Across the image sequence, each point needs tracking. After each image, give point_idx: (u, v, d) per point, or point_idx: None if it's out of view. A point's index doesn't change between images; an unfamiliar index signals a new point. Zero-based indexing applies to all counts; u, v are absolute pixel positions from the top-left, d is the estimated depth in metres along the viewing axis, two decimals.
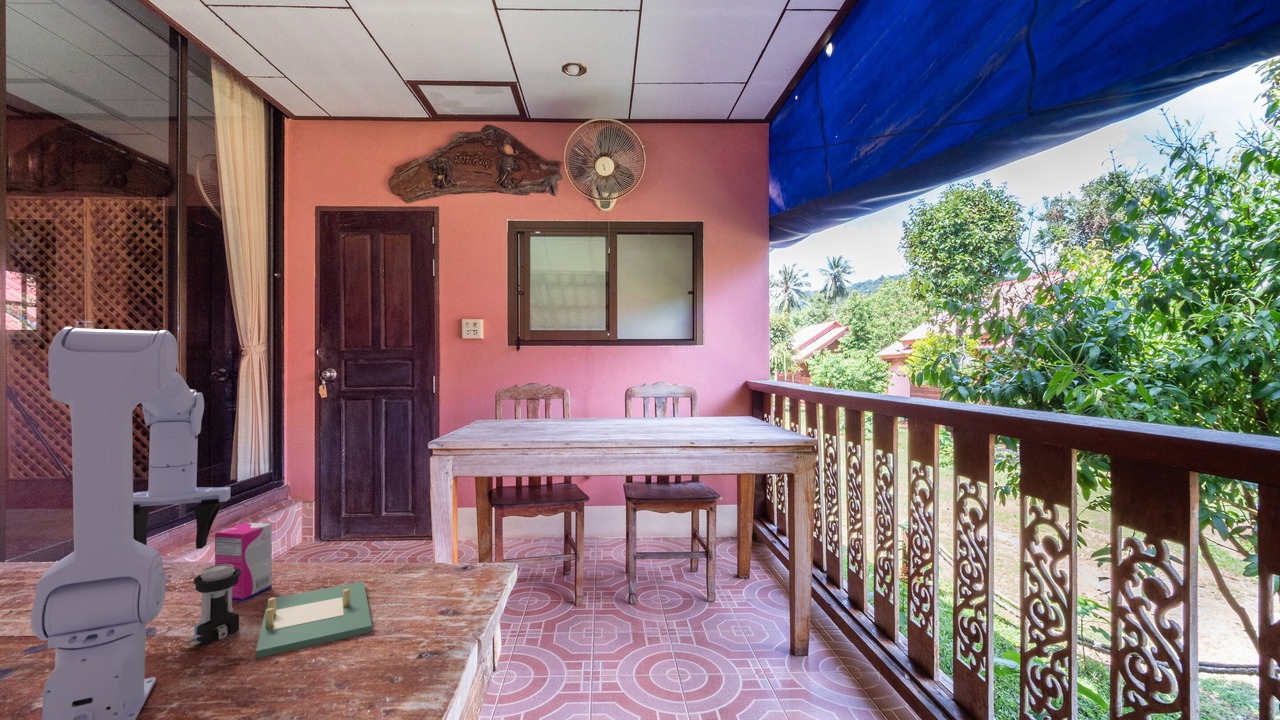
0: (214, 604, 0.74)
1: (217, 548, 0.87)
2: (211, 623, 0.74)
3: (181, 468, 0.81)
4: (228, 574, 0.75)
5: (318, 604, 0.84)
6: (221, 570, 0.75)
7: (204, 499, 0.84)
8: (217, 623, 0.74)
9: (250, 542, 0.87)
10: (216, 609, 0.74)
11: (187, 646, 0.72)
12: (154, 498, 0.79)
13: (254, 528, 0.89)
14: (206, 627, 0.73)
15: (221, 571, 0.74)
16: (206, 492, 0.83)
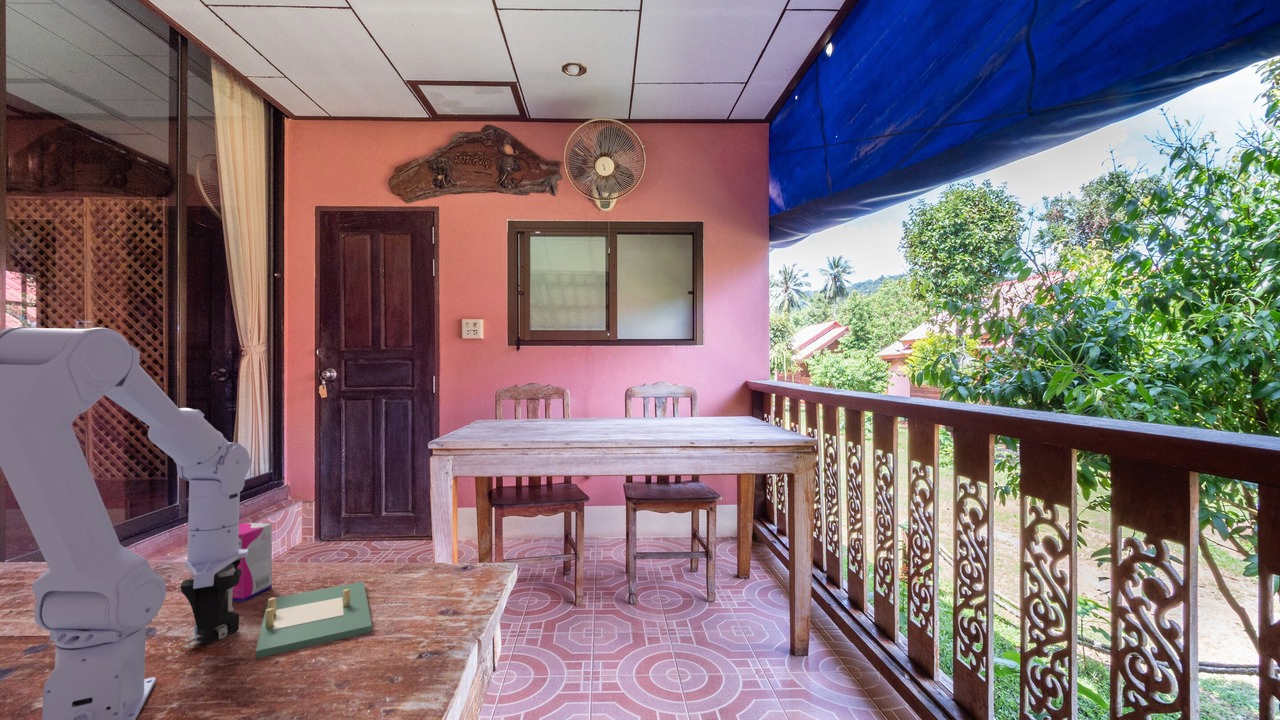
0: None
1: None
2: None
3: (191, 533, 0.72)
4: (229, 574, 0.75)
5: (318, 604, 0.84)
6: (222, 571, 0.74)
7: None
8: None
9: (250, 542, 0.87)
10: None
11: (187, 646, 0.72)
12: None
13: (254, 528, 0.89)
14: None
15: (222, 572, 0.74)
16: (192, 569, 0.70)
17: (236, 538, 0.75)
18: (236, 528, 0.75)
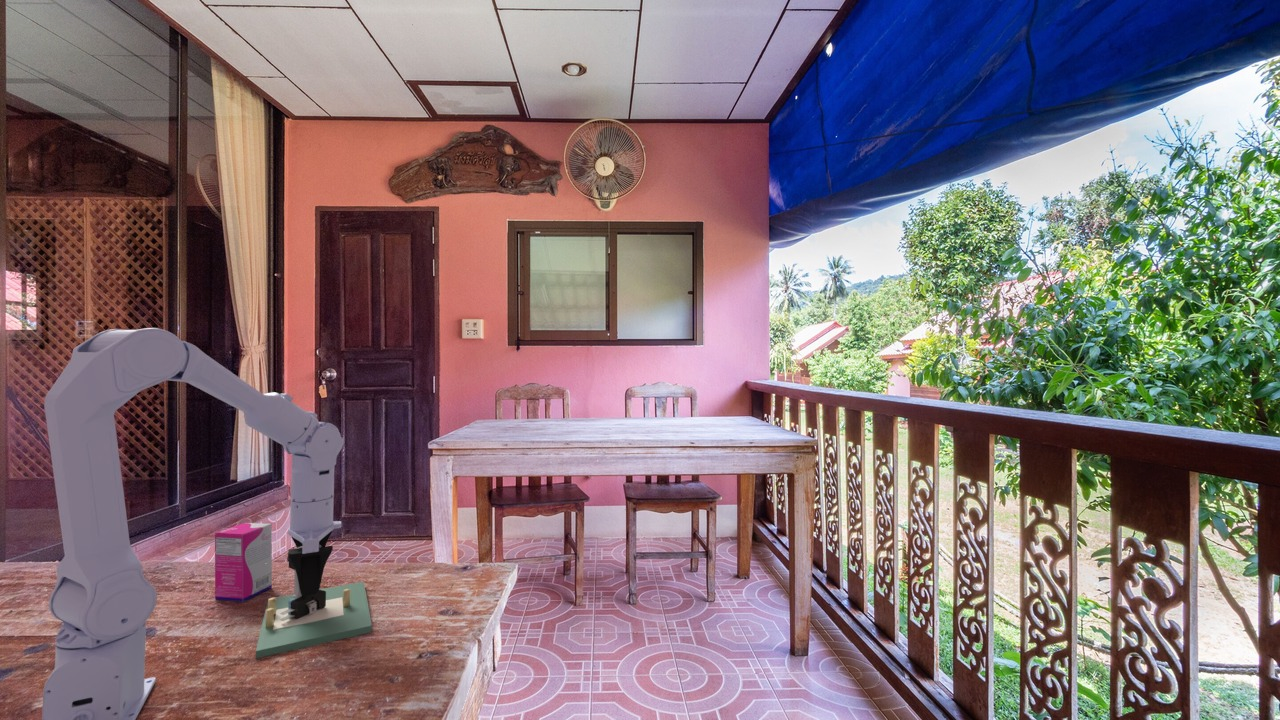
0: None
1: (217, 548, 0.87)
2: (303, 598, 0.80)
3: (294, 504, 0.78)
4: None
5: None
6: None
7: None
8: (308, 598, 0.80)
9: (250, 542, 0.87)
10: None
11: (283, 619, 0.77)
12: None
13: (254, 528, 0.89)
14: (299, 602, 0.79)
15: None
16: (299, 537, 0.76)
17: (332, 510, 0.82)
18: (332, 501, 0.82)
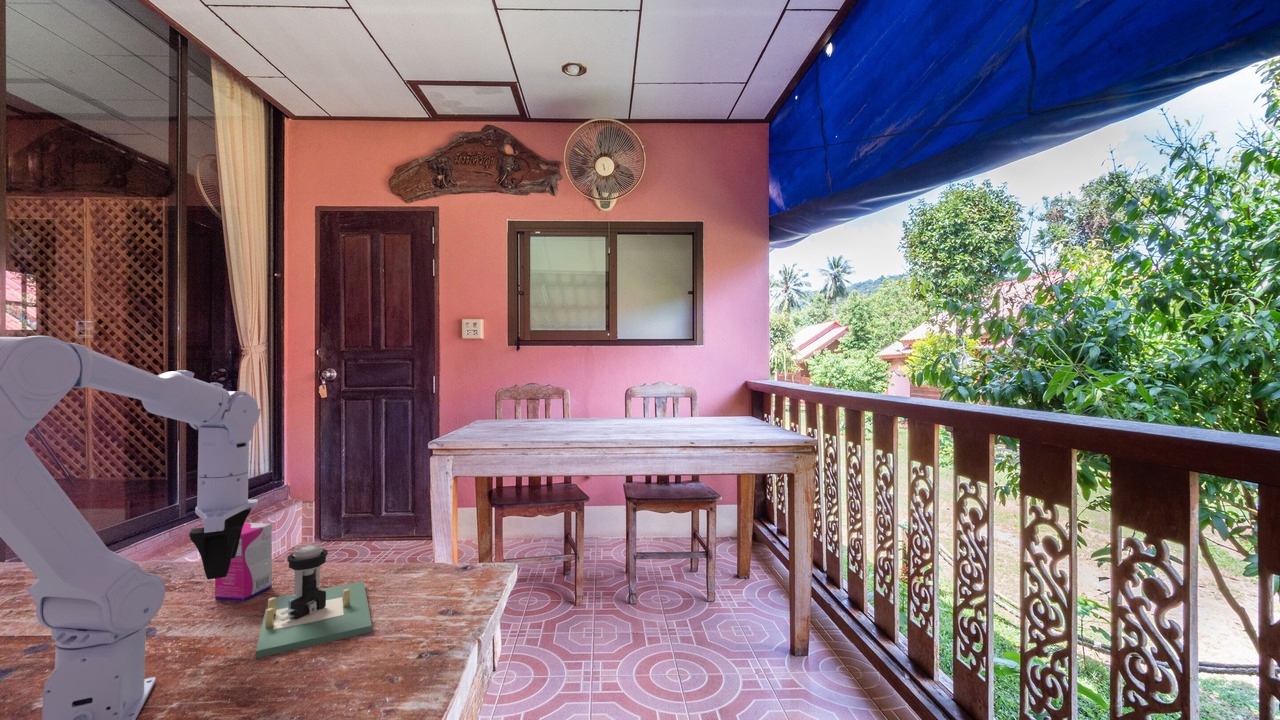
0: (305, 581, 0.80)
1: None
2: (303, 598, 0.80)
3: (200, 480, 0.72)
4: (317, 553, 0.81)
5: None
6: (311, 549, 0.80)
7: None
8: (308, 599, 0.80)
9: (250, 542, 0.87)
10: (307, 586, 0.80)
11: (283, 619, 0.77)
12: None
13: (254, 528, 0.89)
14: (299, 602, 0.79)
15: (312, 550, 0.80)
16: (203, 515, 0.70)
17: (246, 487, 0.75)
18: (246, 477, 0.75)
